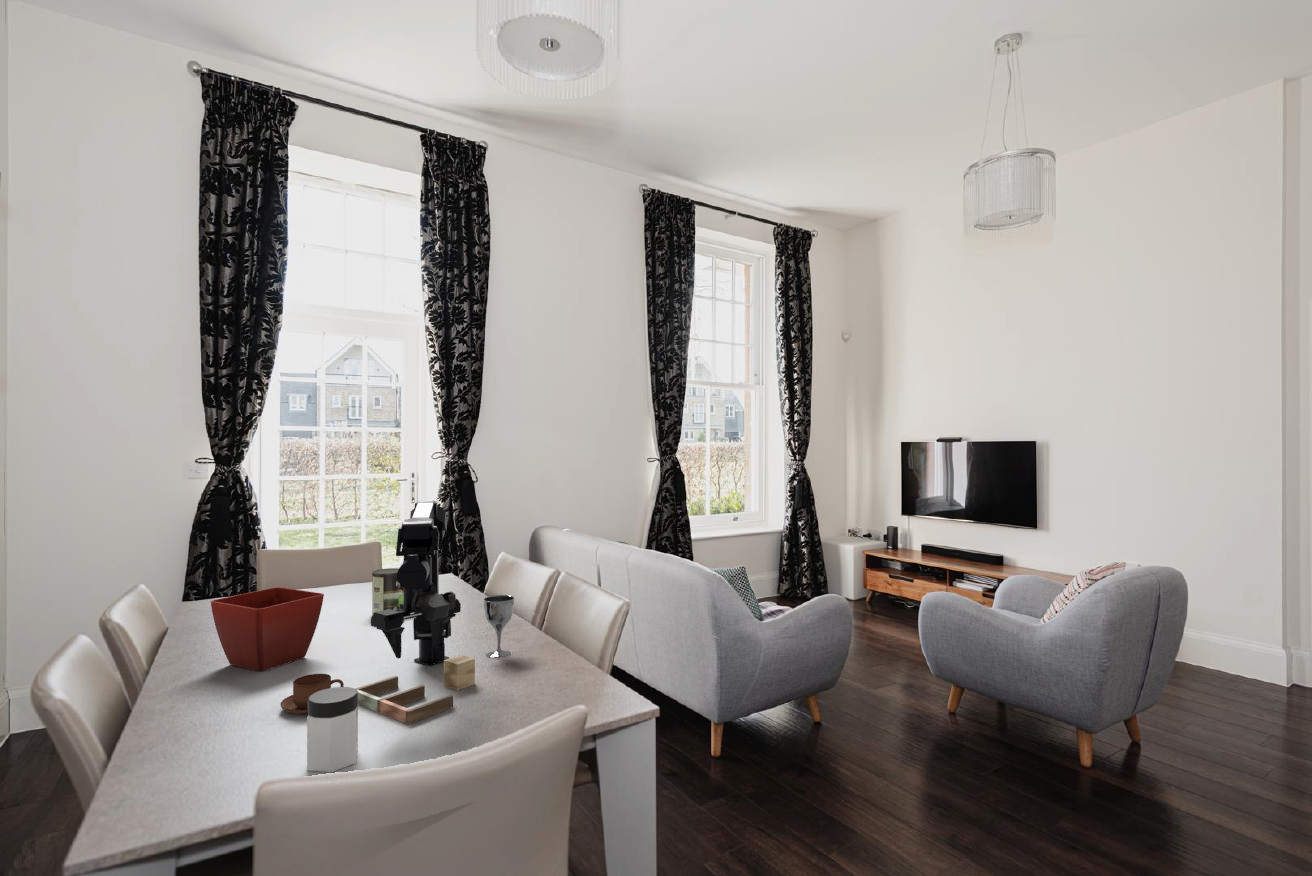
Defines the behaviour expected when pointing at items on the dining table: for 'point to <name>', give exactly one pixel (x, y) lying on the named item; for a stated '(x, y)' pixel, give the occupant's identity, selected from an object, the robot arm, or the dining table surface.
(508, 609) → the wine glass
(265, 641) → the plant pot
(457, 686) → the block
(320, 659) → the dining table surface
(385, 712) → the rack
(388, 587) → the coffee can
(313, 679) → the cup and saucer
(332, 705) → the jar
